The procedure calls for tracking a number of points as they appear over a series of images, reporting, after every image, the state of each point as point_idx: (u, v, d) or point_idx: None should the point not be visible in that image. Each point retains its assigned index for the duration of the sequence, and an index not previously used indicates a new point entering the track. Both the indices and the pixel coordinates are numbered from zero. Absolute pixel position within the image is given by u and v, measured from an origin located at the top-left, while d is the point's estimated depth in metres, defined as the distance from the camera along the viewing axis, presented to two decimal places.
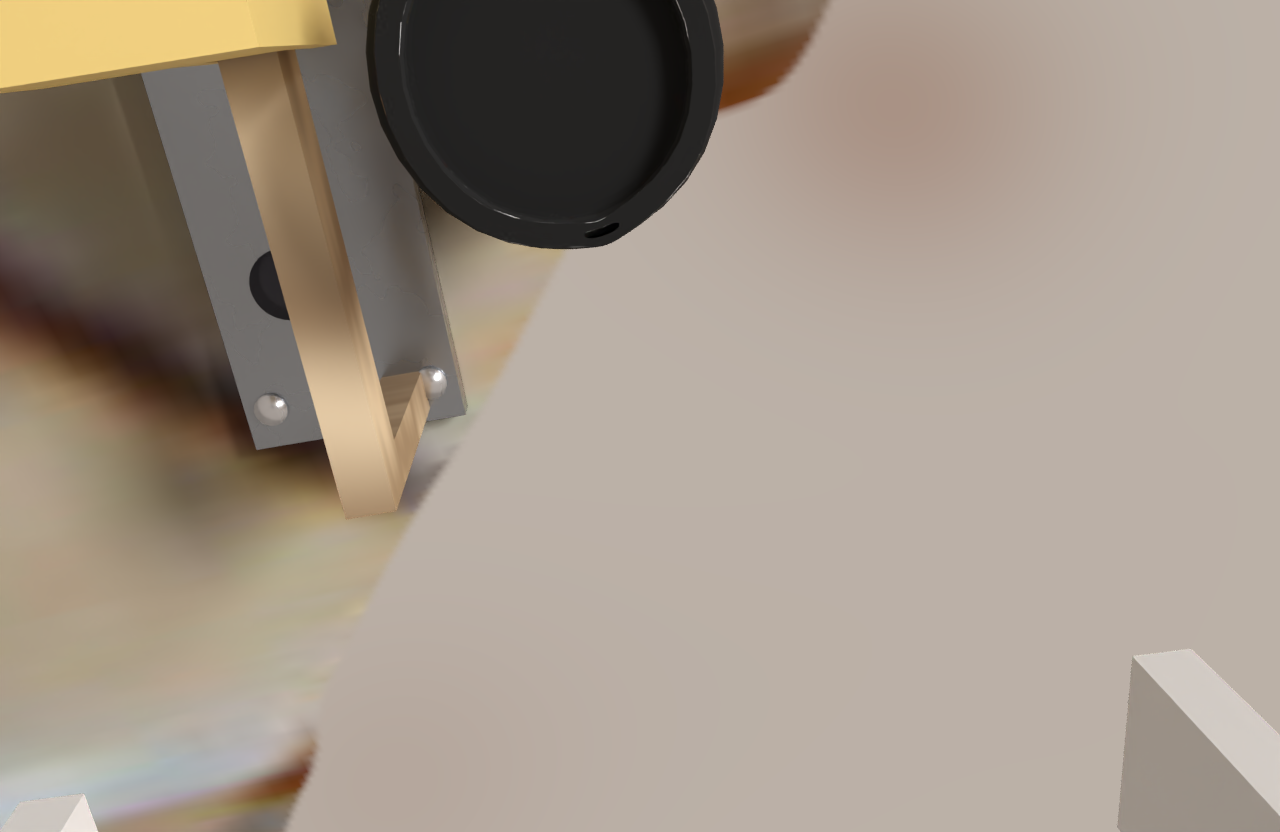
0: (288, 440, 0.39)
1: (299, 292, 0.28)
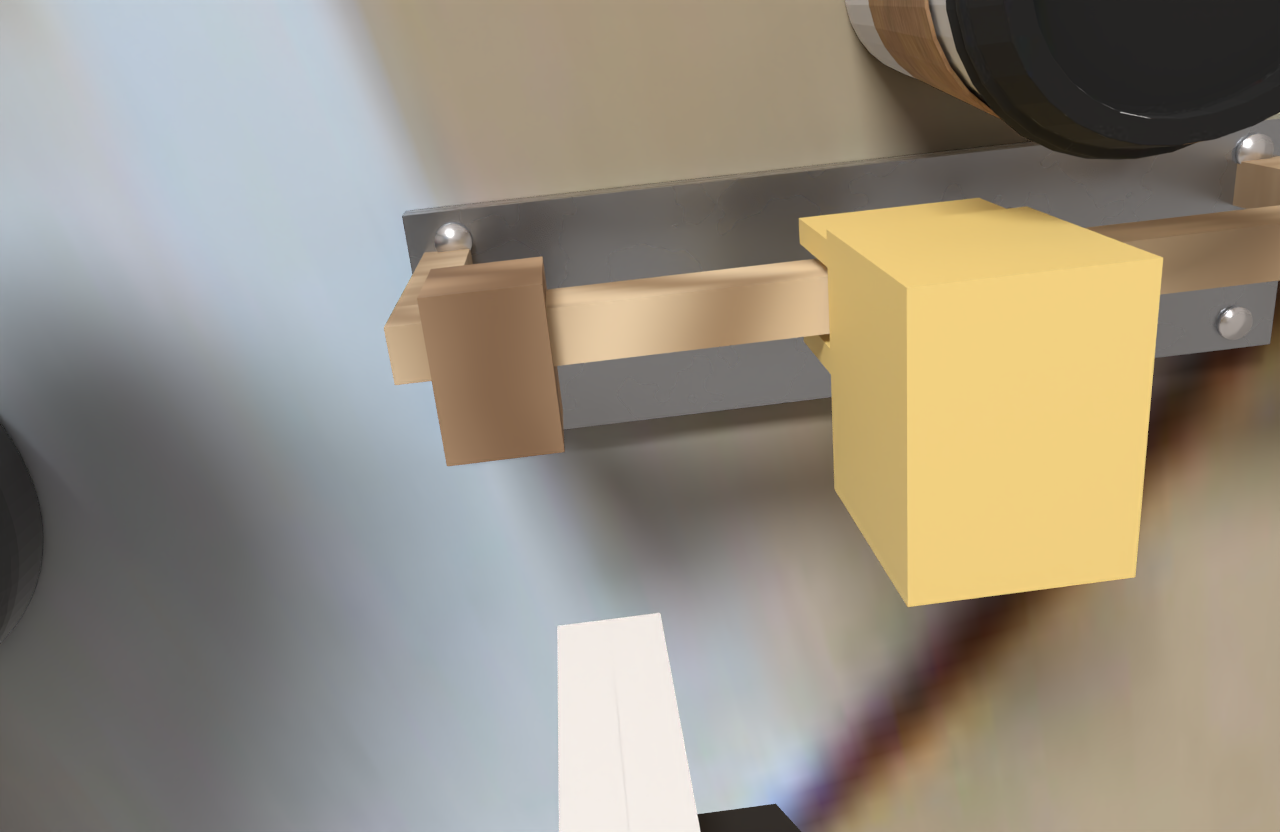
0: (1270, 310, 0.37)
1: (1248, 267, 0.27)
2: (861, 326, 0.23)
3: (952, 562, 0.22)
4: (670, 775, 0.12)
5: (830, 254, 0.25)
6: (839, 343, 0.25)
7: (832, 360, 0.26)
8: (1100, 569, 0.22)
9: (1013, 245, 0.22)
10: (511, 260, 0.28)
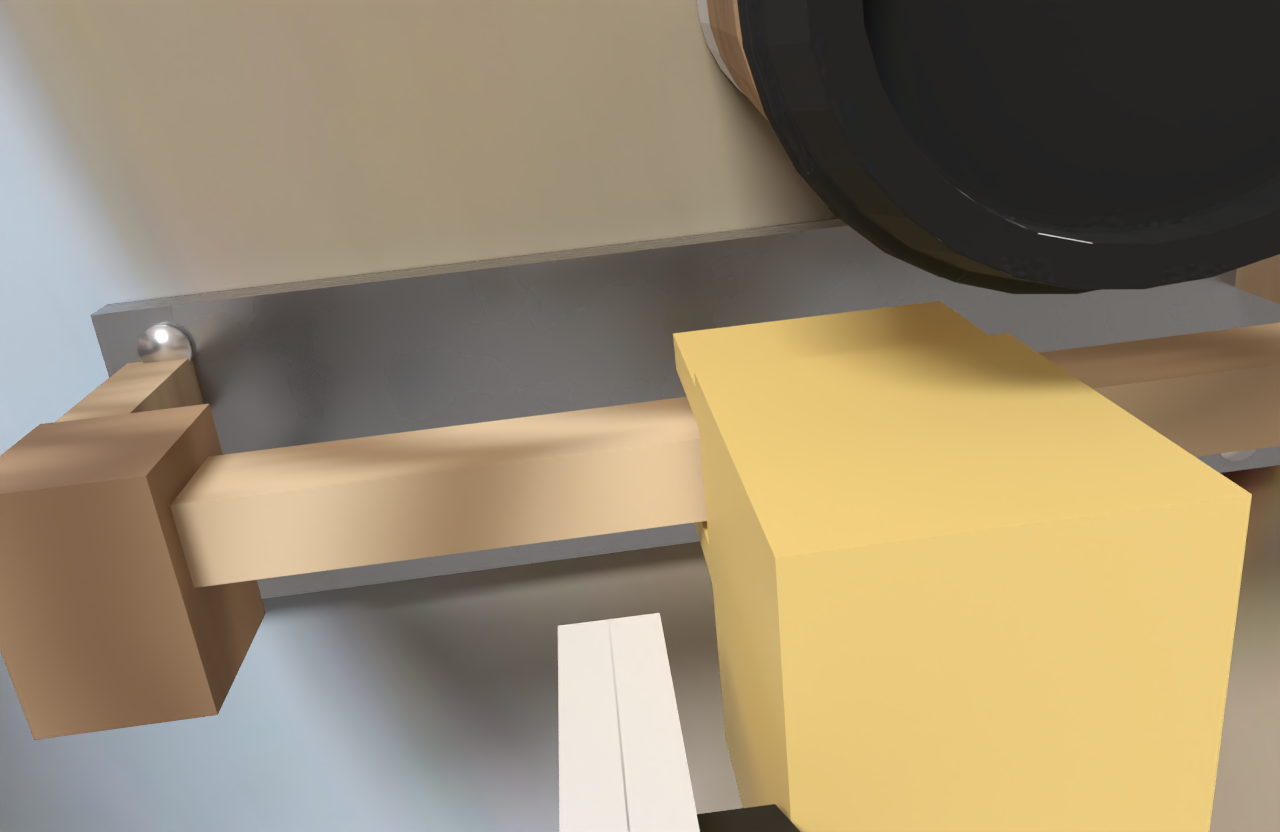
0: None
1: (1262, 424, 0.18)
2: (733, 554, 0.14)
3: None
4: (669, 775, 0.12)
5: (700, 412, 0.16)
6: (715, 550, 0.16)
7: (712, 564, 0.17)
8: None
9: (980, 434, 0.13)
10: (160, 411, 0.18)
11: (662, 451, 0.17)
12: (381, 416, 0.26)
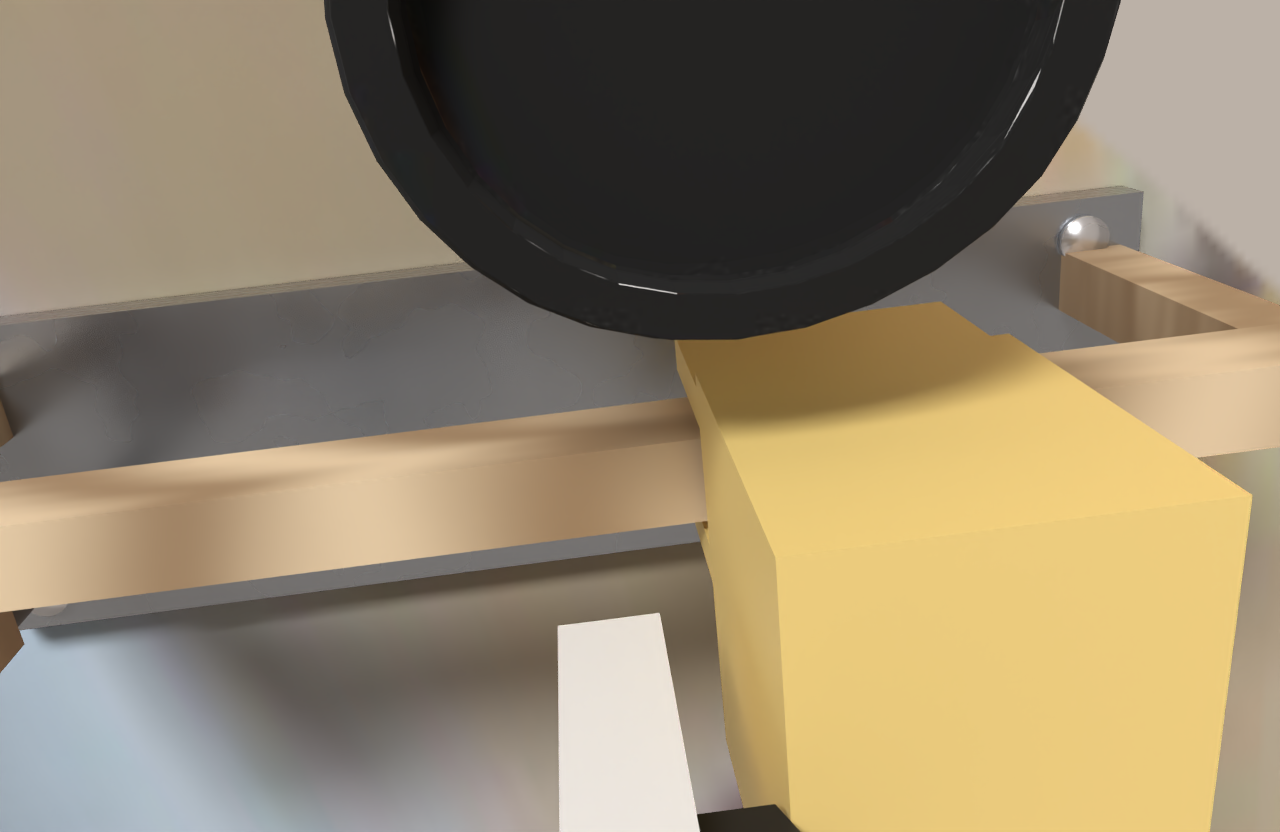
0: None
1: None
2: (734, 554, 0.14)
3: None
4: (669, 775, 0.12)
5: (700, 412, 0.16)
6: (716, 550, 0.16)
7: (712, 564, 0.17)
8: None
9: (981, 435, 0.13)
10: None
11: (376, 487, 0.17)
12: (192, 439, 0.25)
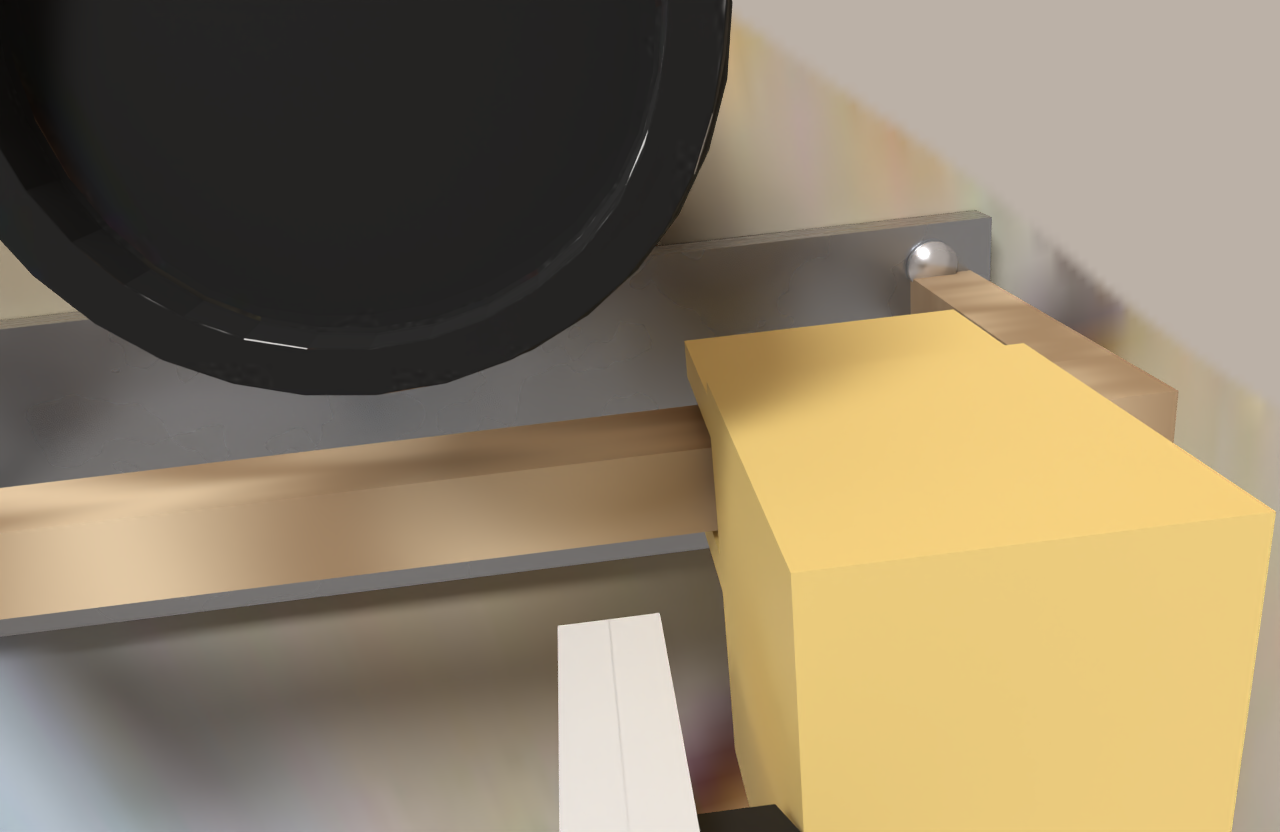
0: None
1: None
2: (746, 565, 0.14)
3: None
4: (669, 775, 0.12)
5: (712, 421, 0.16)
6: (727, 560, 0.16)
7: (723, 574, 0.17)
8: None
9: (998, 447, 0.13)
10: None
11: (123, 527, 0.16)
12: (29, 464, 0.25)
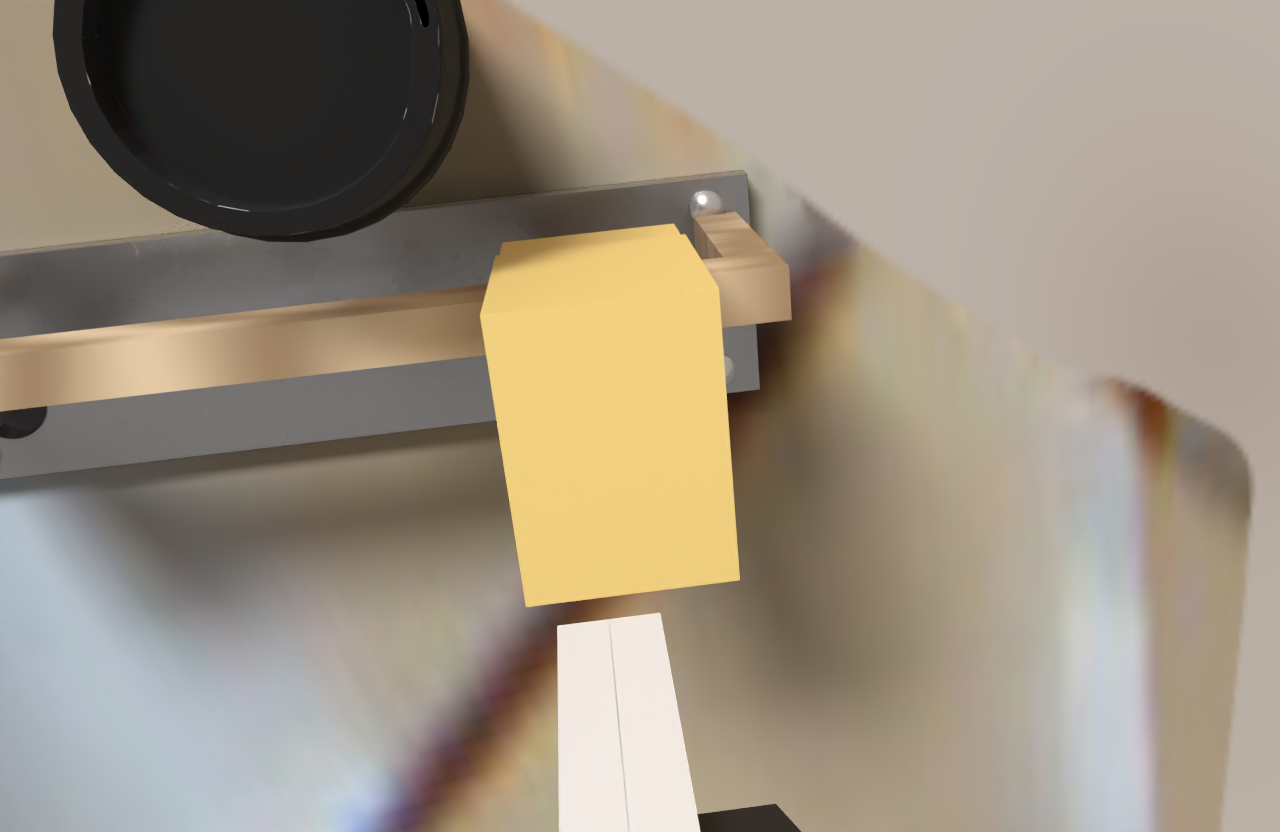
0: (753, 357, 0.38)
1: None
2: None
3: (562, 566, 0.24)
4: (670, 775, 0.12)
5: None
6: None
7: None
8: (705, 573, 0.24)
9: (621, 273, 0.24)
10: None
11: (152, 344, 0.27)
12: None
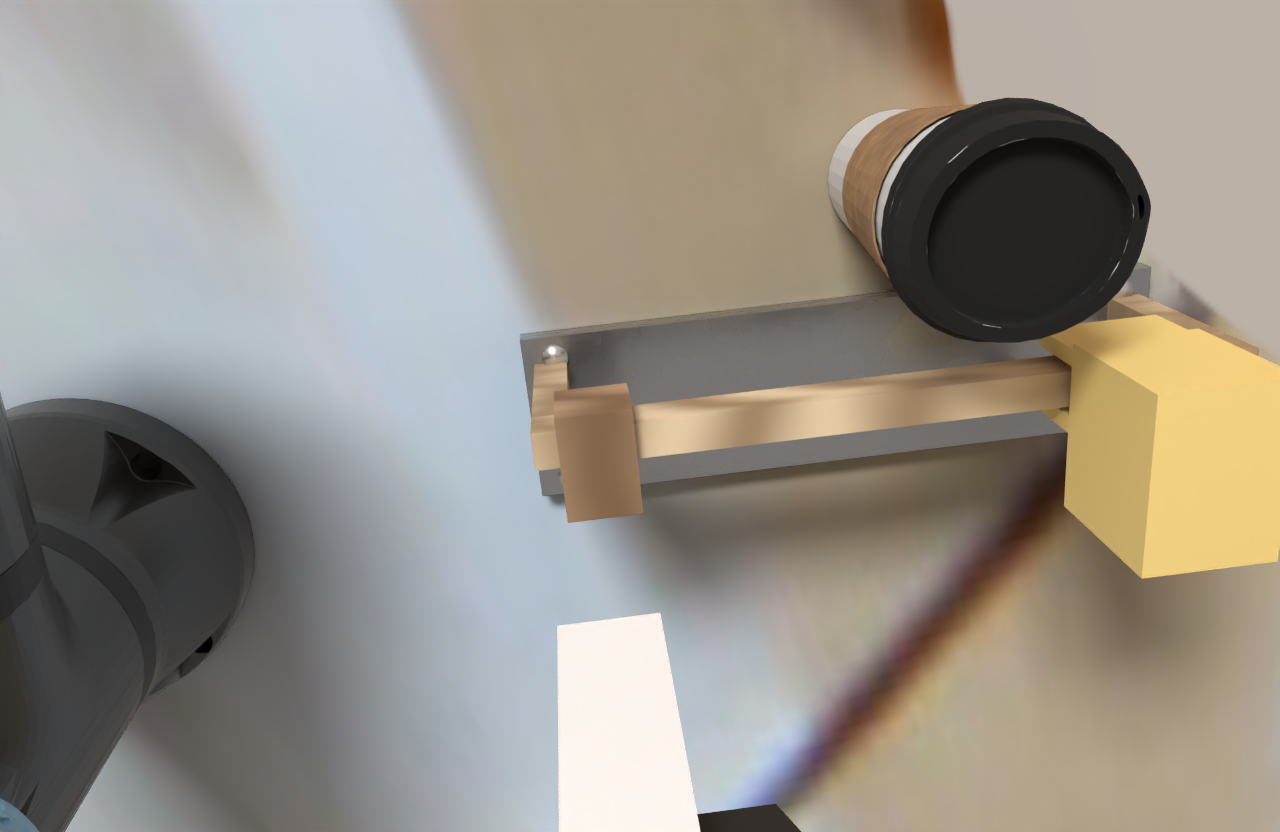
0: None
1: None
2: (1108, 408, 0.38)
3: (1170, 552, 0.36)
4: (670, 775, 0.12)
5: (1076, 359, 0.40)
6: (1081, 415, 0.40)
7: (1070, 424, 0.41)
8: (1256, 556, 0.37)
9: (1206, 362, 0.37)
10: (606, 385, 0.42)
11: (833, 402, 0.40)
12: (658, 393, 0.49)
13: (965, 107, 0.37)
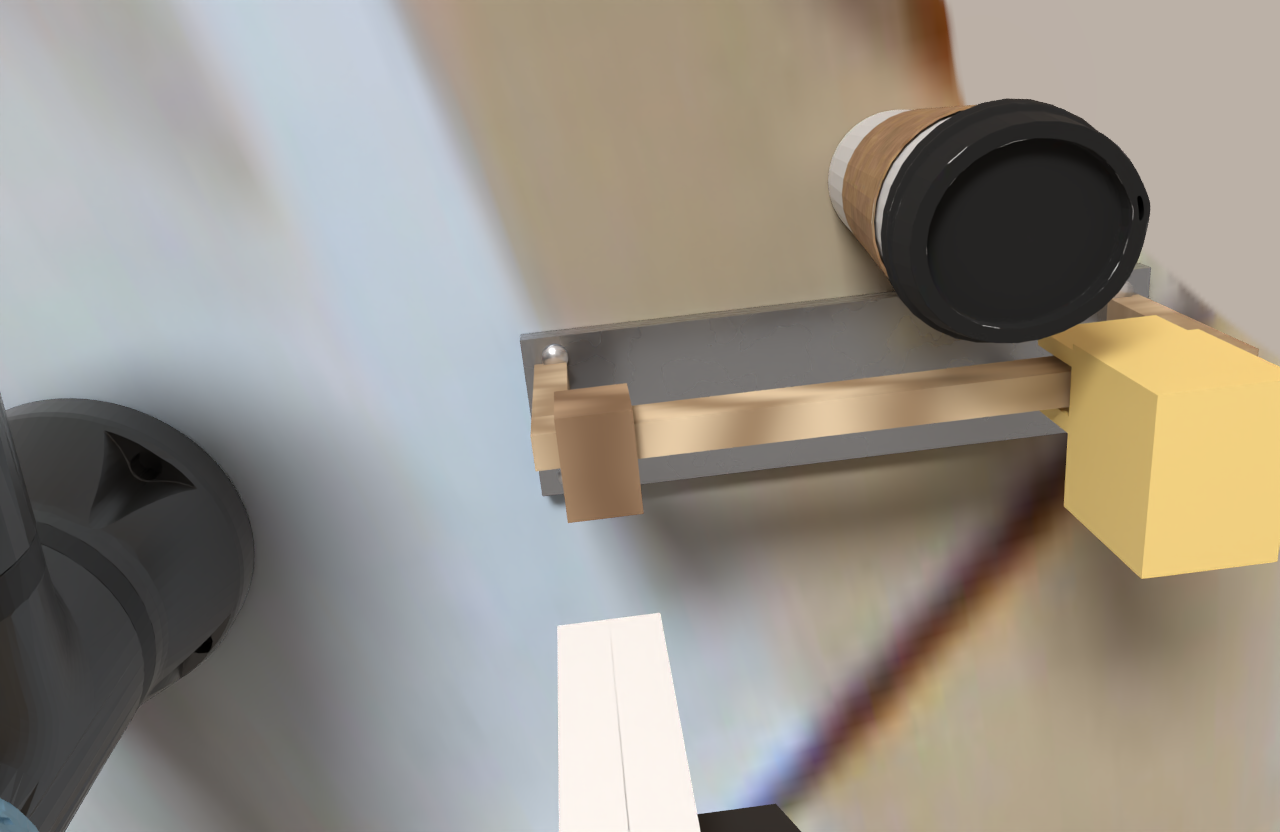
0: None
1: None
2: (1108, 408, 0.38)
3: (1170, 552, 0.37)
4: (670, 775, 0.12)
5: (1076, 359, 0.40)
6: (1080, 415, 0.40)
7: (1070, 424, 0.41)
8: (1256, 557, 0.37)
9: (1206, 363, 0.37)
10: (606, 386, 0.42)
11: (833, 403, 0.40)
12: (658, 393, 0.49)
13: (965, 108, 0.37)
